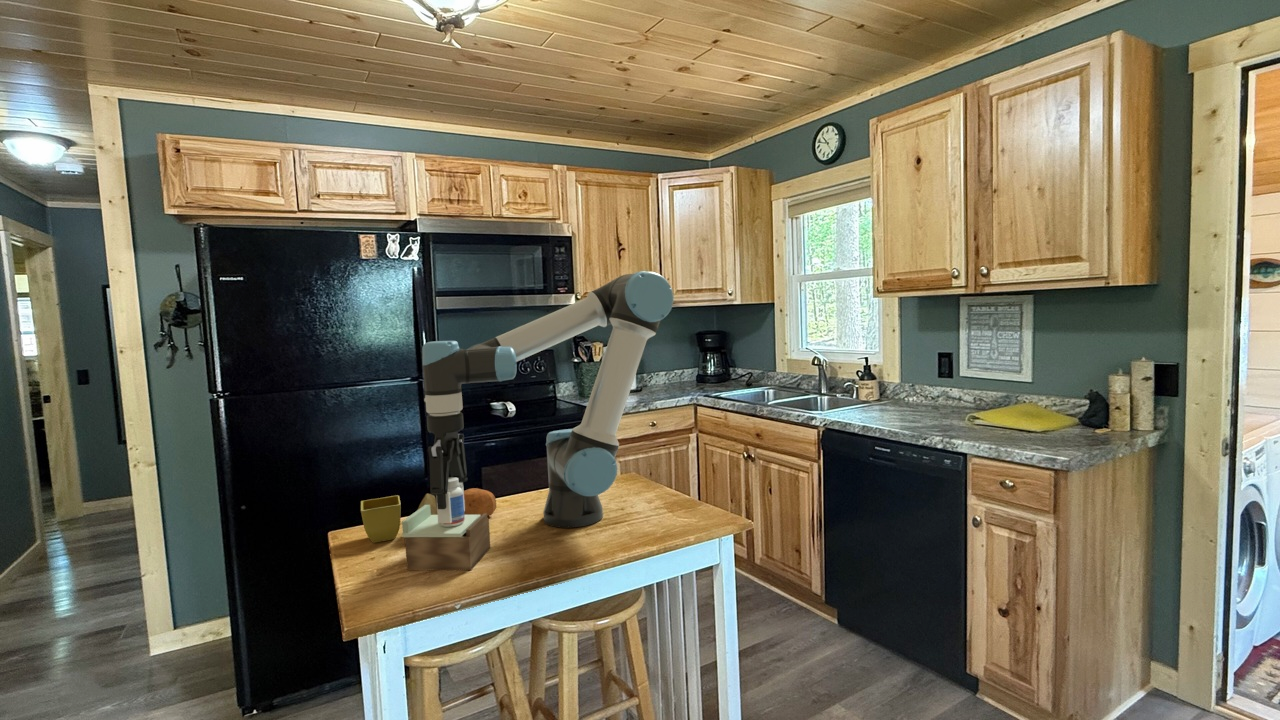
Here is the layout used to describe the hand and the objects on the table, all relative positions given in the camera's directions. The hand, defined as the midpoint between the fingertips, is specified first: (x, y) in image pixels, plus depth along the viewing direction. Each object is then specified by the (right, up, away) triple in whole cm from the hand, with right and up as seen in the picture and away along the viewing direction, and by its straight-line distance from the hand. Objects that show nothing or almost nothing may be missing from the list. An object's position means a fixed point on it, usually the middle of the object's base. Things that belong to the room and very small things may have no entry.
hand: (451, 516), depth 137 cm
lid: (-2, -2, 0) cm, 3 cm away
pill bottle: (0, -2, 0) cm, 2 cm away
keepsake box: (-1, -9, +1) cm, 10 cm away
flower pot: (-21, -9, +15) cm, 28 cm away
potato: (-3, -7, +29) cm, 30 cm away
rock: (-11, -9, +15) cm, 21 cm away
